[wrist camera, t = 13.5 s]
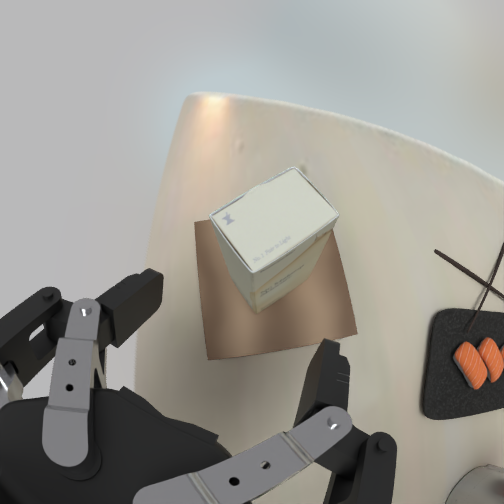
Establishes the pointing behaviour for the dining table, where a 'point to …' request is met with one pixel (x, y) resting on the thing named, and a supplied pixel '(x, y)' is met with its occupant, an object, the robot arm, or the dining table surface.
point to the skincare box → (273, 236)
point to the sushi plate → (465, 359)
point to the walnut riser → (277, 314)
